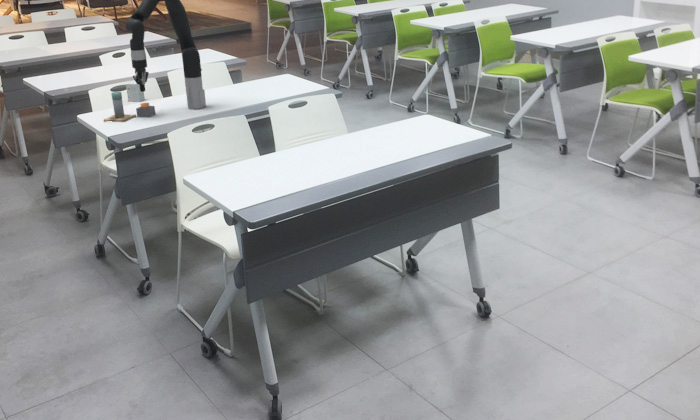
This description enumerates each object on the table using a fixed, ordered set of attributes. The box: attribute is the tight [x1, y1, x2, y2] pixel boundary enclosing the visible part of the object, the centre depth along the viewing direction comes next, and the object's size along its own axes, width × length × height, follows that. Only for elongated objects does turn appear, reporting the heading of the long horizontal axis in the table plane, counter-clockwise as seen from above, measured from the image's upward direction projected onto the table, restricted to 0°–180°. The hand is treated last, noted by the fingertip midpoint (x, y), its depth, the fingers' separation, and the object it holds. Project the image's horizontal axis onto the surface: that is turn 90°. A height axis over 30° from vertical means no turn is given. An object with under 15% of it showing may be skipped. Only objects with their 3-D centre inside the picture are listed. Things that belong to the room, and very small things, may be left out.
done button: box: [140, 102, 150, 108], centre depth 391 cm, size 4×4×3 cm
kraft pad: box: [103, 114, 137, 123], centre depth 387 cm, size 12×12×1 cm
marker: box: [111, 91, 125, 118], centre depth 384 cm, size 5×5×13 cm
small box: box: [125, 81, 146, 103], centre depth 429 cm, size 8×6×10 cm
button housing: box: [136, 105, 156, 118], centre depth 392 cm, size 7×7×4 cm
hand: (142, 91), depth 388 cm, fingers closed
